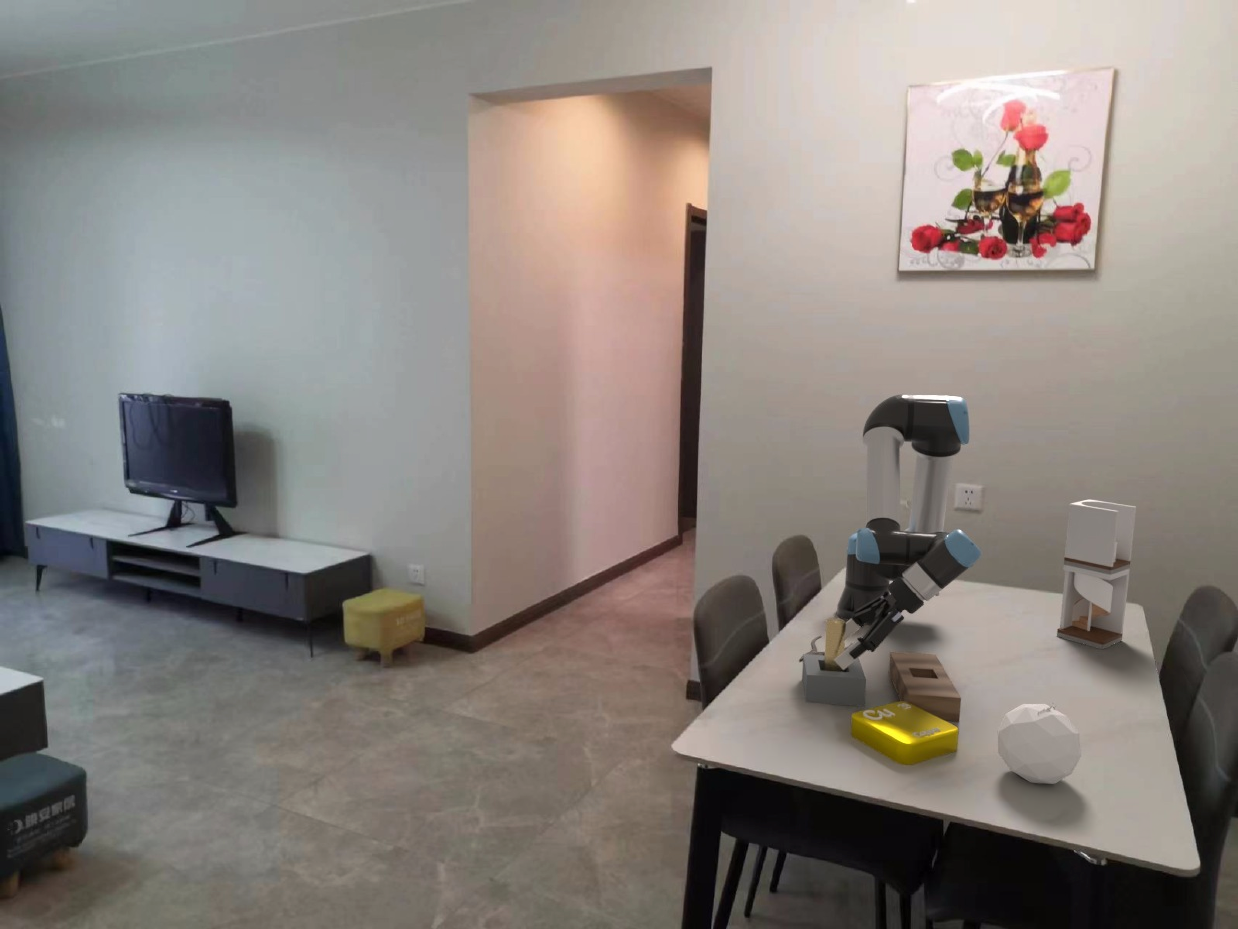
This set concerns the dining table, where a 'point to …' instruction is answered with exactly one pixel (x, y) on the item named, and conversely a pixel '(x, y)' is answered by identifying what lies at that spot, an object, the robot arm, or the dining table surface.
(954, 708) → the beam
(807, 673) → the seat block
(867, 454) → the robot arm
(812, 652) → the pliers
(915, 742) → the element tile
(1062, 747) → the geodesic sphere
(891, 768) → the dining table surface
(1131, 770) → the dining table surface
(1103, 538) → the spiral staircase model
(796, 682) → the dining table surface
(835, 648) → the golden rounded rod
